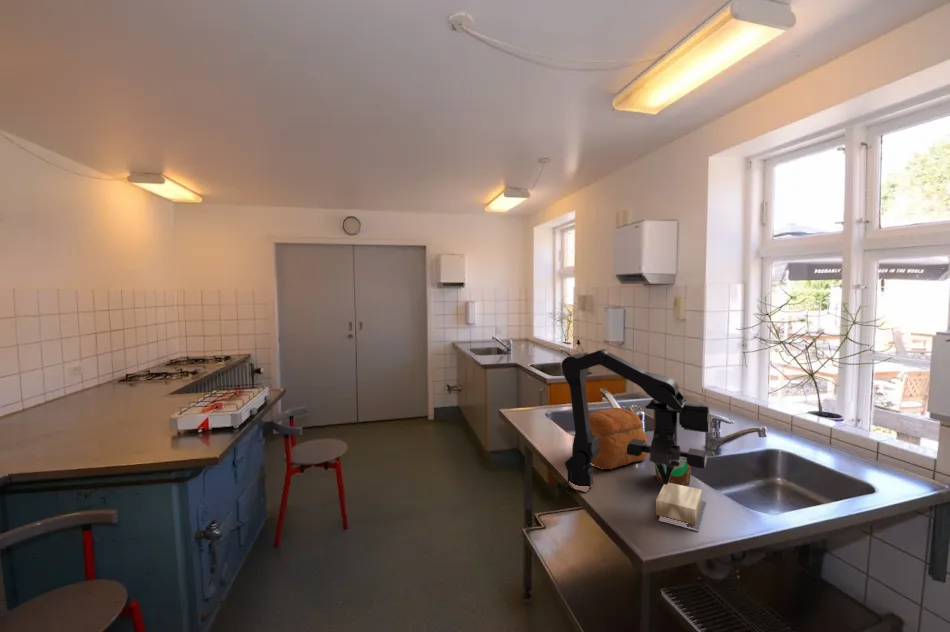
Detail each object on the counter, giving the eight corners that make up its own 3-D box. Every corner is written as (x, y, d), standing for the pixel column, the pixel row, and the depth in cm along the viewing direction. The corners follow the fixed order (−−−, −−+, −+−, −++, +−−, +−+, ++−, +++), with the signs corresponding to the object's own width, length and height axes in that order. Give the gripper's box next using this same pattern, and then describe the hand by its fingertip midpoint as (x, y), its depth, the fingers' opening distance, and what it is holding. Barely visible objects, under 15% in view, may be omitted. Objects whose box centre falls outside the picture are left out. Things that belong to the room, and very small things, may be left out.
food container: (644, 480, 128) (644, 448, 127) (652, 473, 132) (652, 442, 132) (687, 492, 119) (687, 458, 119) (694, 485, 123) (694, 452, 123)
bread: (570, 456, 148) (569, 410, 147) (615, 445, 157) (615, 401, 156) (606, 475, 132) (605, 423, 131) (654, 461, 141) (653, 412, 140)
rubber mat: (657, 521, 105) (657, 519, 105) (669, 494, 118) (669, 493, 118) (698, 532, 100) (698, 530, 100) (705, 503, 113) (705, 501, 113)
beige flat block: (656, 500, 107) (695, 509, 102) (665, 481, 117) (701, 489, 112) (656, 515, 107) (695, 525, 102) (665, 495, 117) (701, 504, 112)
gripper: (620, 429, 109) (621, 487, 110) (701, 442, 98) (701, 506, 99) (632, 418, 118) (632, 472, 119) (707, 428, 107) (707, 487, 108)
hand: (665, 484), depth 111 cm, fingers closed
